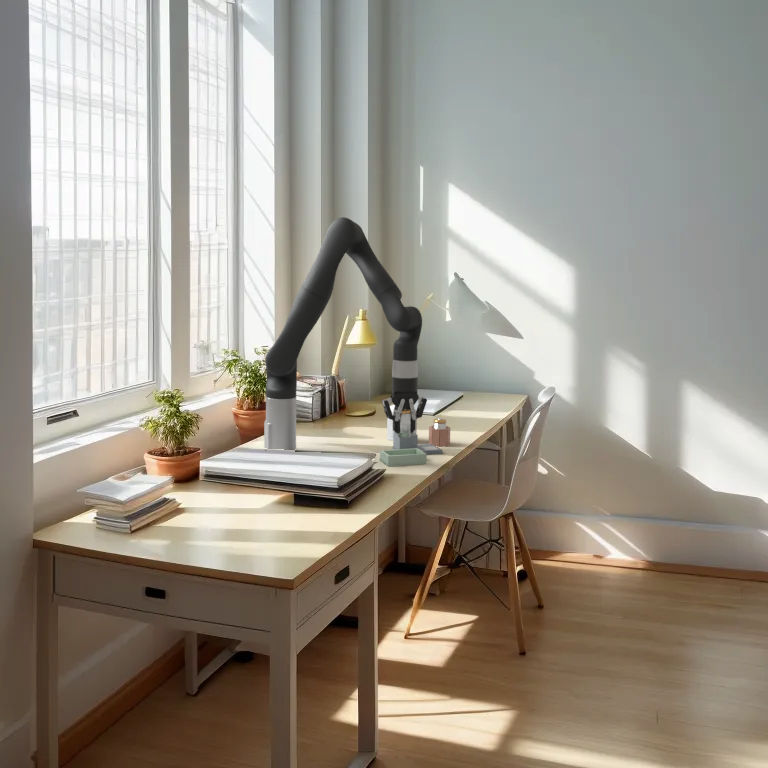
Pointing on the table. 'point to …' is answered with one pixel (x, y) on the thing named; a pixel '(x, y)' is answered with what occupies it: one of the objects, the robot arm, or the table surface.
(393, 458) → the trough
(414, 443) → the grey stepped block
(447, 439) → the cup
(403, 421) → the cylinder
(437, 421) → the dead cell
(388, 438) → the photo printer
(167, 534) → the table surface
